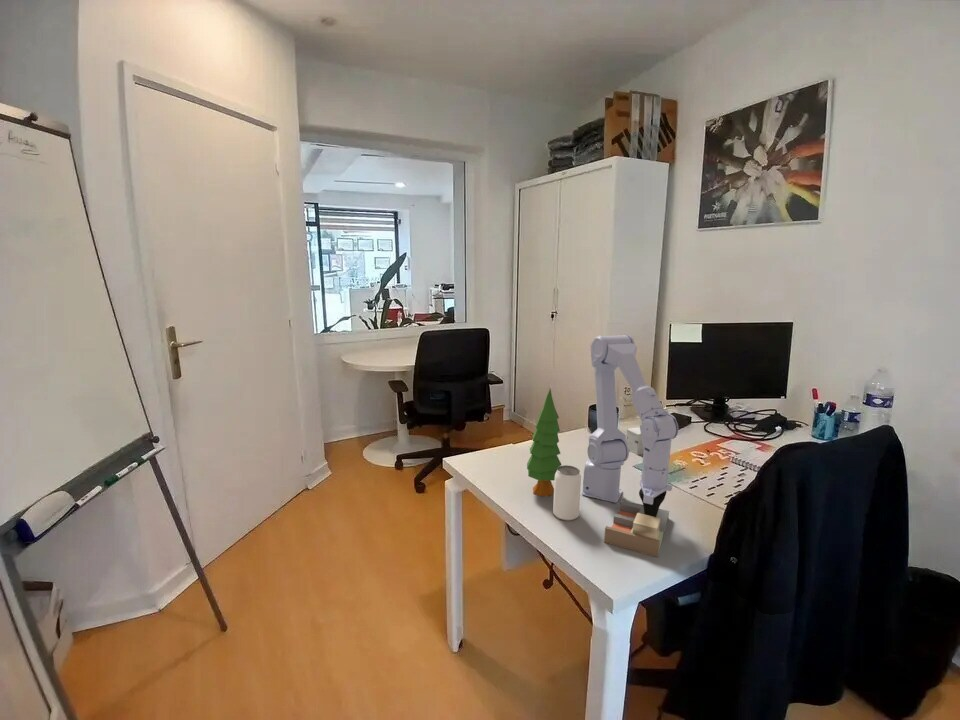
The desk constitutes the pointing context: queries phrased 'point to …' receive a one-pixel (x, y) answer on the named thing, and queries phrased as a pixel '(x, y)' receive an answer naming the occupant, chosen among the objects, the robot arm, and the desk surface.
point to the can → (567, 493)
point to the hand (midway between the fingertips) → (650, 519)
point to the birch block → (646, 526)
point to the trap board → (623, 530)
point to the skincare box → (635, 440)
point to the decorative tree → (545, 449)
